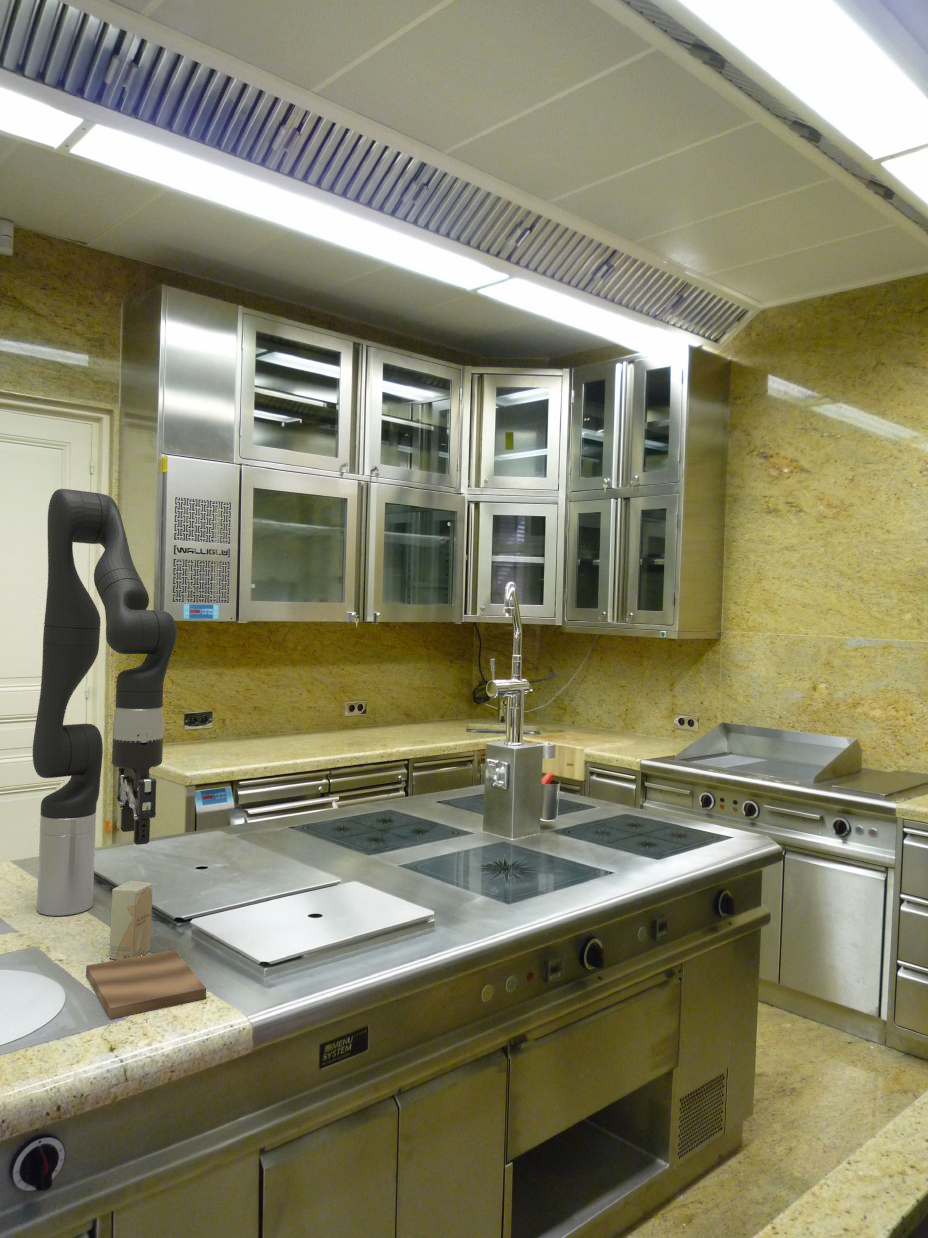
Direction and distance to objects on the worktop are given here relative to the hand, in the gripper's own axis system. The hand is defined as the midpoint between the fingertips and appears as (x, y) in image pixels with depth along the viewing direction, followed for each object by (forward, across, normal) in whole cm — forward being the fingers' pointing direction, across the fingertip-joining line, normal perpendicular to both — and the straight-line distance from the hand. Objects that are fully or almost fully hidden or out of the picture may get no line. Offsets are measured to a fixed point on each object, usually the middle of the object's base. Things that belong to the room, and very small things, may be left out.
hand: (134, 837), depth 140 cm
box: (+19, 0, 0) cm, 19 cm away
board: (+19, +13, -1) cm, 23 cm away
